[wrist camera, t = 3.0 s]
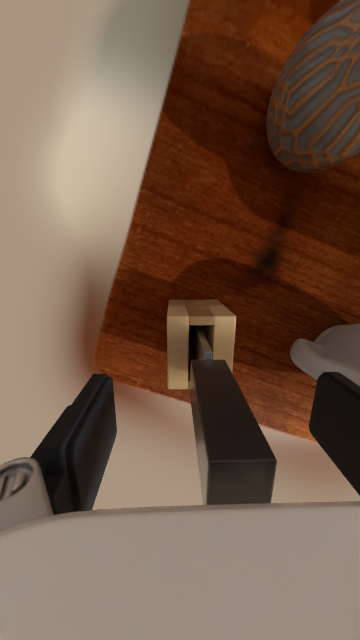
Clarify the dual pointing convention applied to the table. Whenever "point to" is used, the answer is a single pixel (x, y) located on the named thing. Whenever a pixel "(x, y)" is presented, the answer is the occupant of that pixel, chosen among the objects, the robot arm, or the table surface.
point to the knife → (226, 433)
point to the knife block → (216, 329)
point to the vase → (319, 95)
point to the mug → (330, 352)
